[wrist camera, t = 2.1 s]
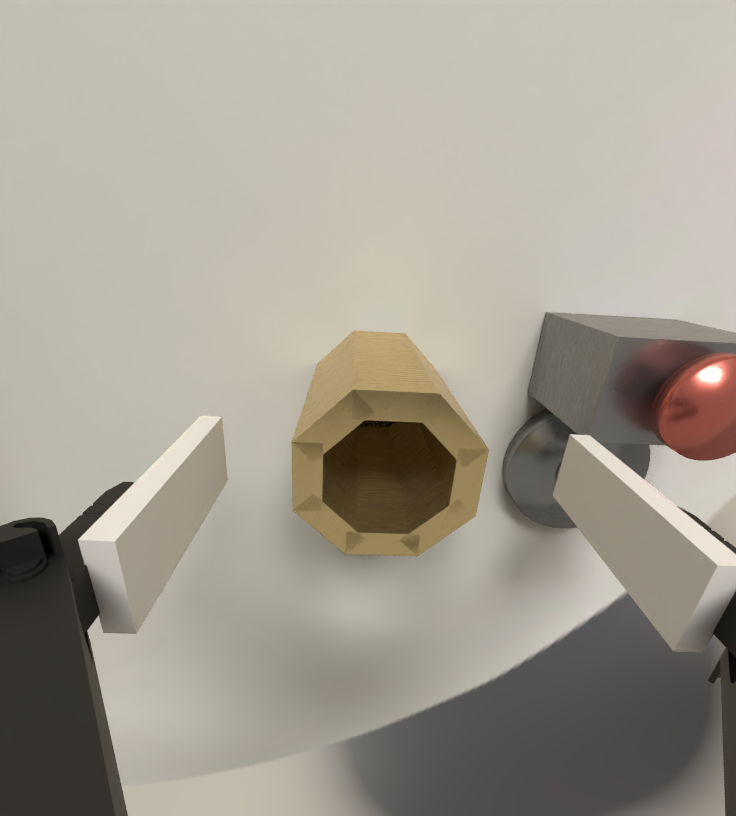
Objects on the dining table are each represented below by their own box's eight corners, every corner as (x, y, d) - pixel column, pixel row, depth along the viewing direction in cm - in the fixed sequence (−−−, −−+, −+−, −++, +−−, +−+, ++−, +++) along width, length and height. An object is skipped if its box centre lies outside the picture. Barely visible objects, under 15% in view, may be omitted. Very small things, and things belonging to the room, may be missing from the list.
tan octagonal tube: (316, 439, 22) (293, 552, 14) (318, 328, 20) (290, 386, 12) (426, 444, 23) (467, 557, 14) (440, 335, 20) (499, 396, 12)
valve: (491, 513, 25) (552, 630, 17) (536, 311, 20) (647, 350, 12) (612, 517, 25) (723, 633, 18) (685, 320, 20) (881, 363, 13)
